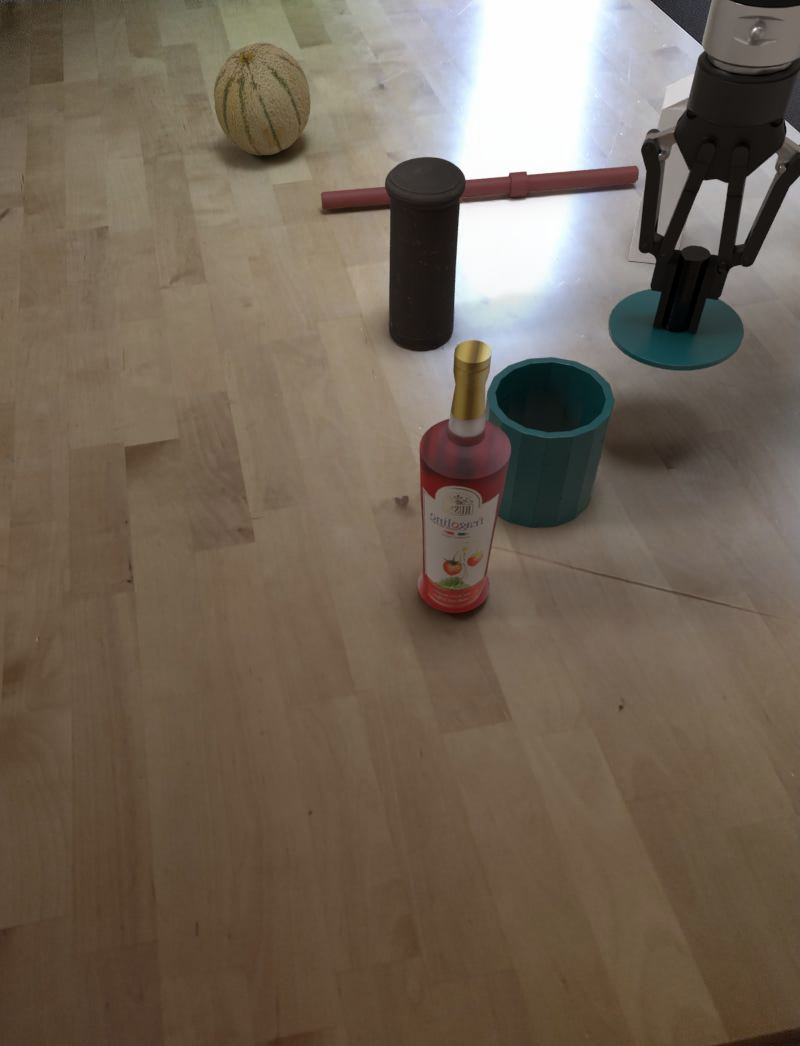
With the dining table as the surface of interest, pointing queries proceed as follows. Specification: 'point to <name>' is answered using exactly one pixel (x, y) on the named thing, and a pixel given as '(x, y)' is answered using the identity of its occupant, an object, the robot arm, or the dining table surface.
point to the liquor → (461, 489)
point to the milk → (667, 168)
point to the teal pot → (549, 437)
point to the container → (423, 250)
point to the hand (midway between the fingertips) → (676, 321)
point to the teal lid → (677, 322)
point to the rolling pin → (497, 185)
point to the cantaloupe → (262, 99)
